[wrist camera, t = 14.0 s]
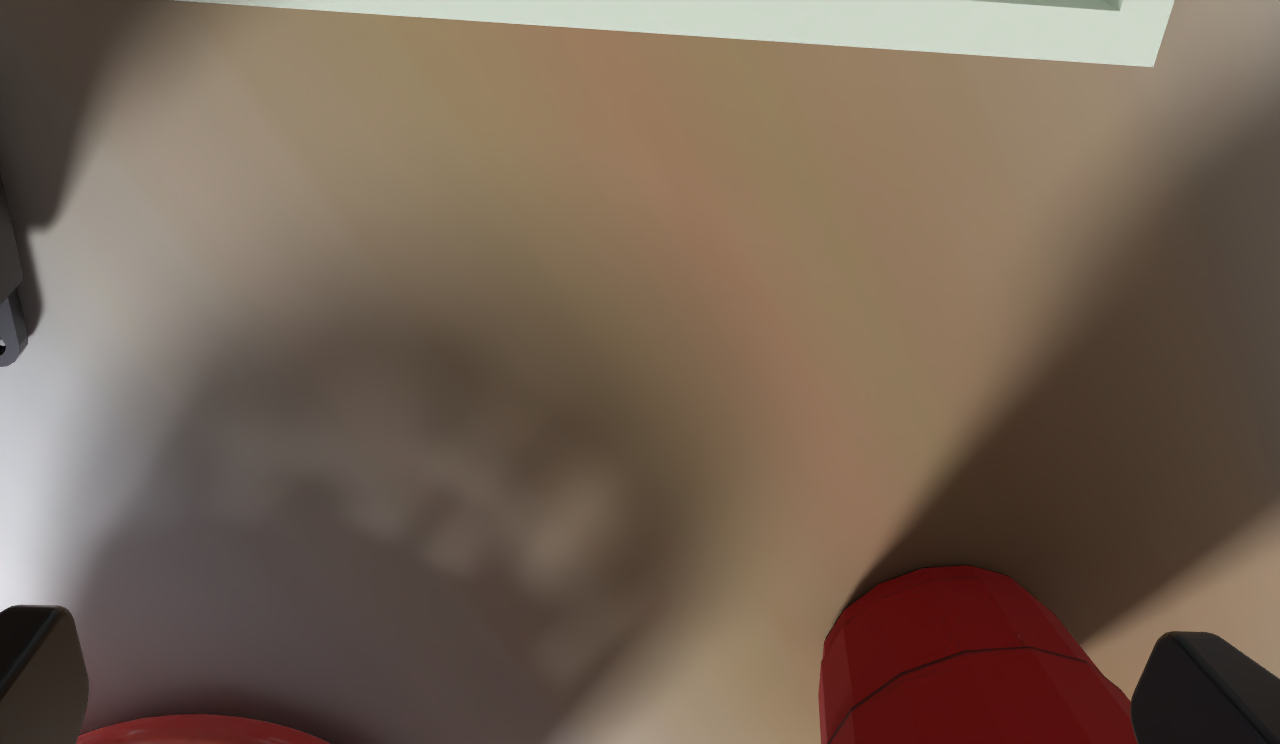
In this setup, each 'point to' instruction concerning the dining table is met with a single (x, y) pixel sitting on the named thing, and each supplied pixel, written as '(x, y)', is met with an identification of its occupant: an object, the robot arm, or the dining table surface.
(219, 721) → the plant pot
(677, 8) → the tray
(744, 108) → the dining table surface
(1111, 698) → the plastic cup
